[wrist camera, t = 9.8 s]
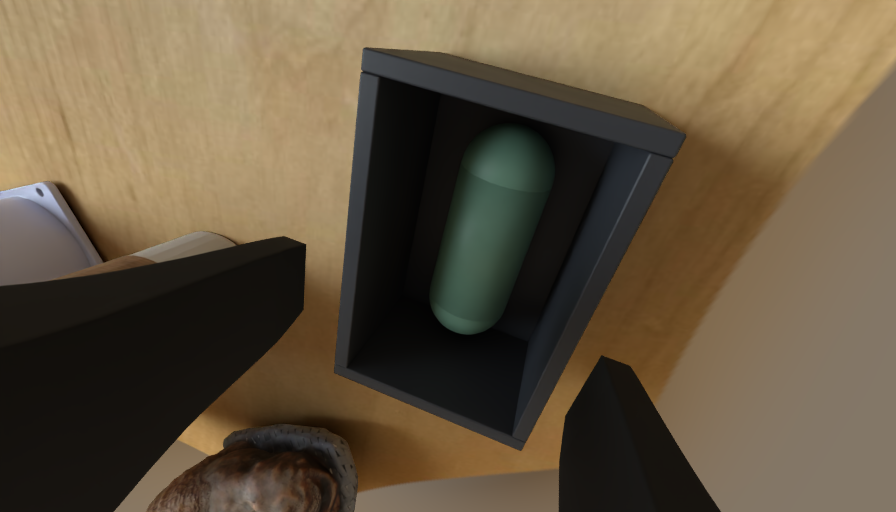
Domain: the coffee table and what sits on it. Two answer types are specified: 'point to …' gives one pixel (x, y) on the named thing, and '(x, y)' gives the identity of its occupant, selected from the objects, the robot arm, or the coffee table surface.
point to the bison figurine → (268, 474)
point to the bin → (424, 218)
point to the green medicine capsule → (490, 225)
